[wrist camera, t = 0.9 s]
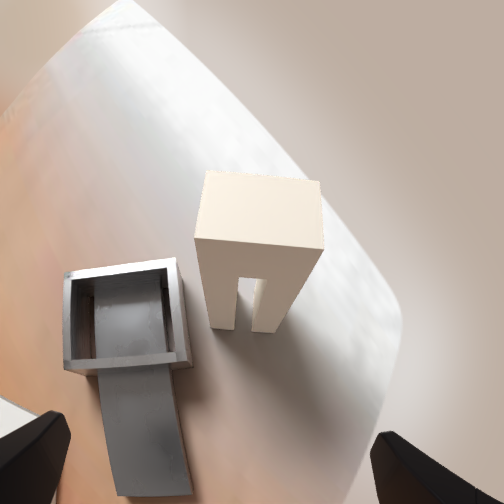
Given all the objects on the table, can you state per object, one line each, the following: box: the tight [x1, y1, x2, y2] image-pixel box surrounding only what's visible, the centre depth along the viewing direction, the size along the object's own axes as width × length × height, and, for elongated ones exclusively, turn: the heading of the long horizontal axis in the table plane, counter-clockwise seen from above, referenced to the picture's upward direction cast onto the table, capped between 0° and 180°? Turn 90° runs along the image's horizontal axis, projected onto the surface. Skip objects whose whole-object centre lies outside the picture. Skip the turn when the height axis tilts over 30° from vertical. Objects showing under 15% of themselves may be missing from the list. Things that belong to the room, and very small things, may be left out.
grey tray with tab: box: [63, 258, 193, 497], centre depth 18 cm, size 16×8×3 cm, turn 11°
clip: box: [194, 170, 324, 333], centre depth 17 cm, size 3×4×12 cm
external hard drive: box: [0, 395, 57, 504], centre depth 14 cm, size 2×8×12 cm
